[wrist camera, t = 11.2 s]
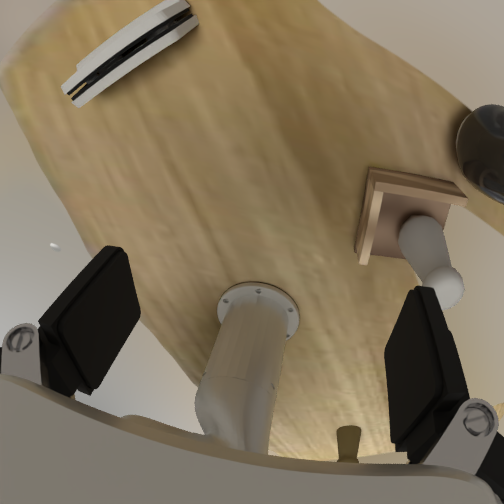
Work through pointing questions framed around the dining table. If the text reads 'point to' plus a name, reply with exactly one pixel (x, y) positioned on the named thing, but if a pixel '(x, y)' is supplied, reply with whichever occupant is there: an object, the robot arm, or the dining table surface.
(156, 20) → the white rounded block
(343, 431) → the brown pawn
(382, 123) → the dining table surface
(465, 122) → the pump dispenser
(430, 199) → the corner tray
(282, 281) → the dining table surface
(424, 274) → the salt shaker
